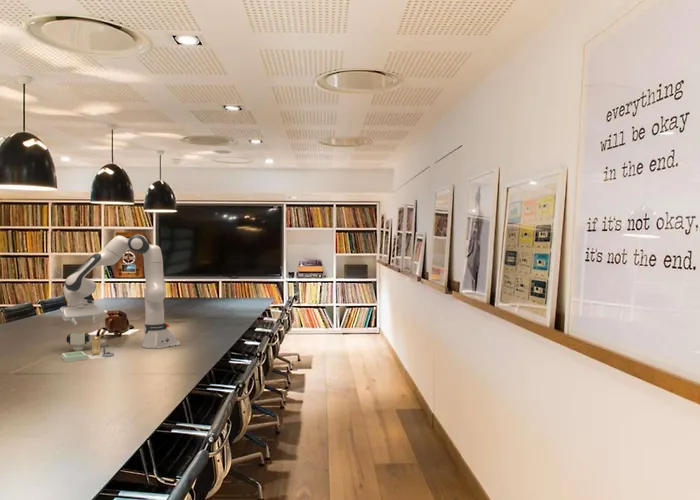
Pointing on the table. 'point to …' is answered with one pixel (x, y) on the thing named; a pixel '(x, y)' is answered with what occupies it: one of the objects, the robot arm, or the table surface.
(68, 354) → the tray
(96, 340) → the amber drinking glass
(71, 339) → the pneumatic valve
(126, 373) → the table surface
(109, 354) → the crank jig
